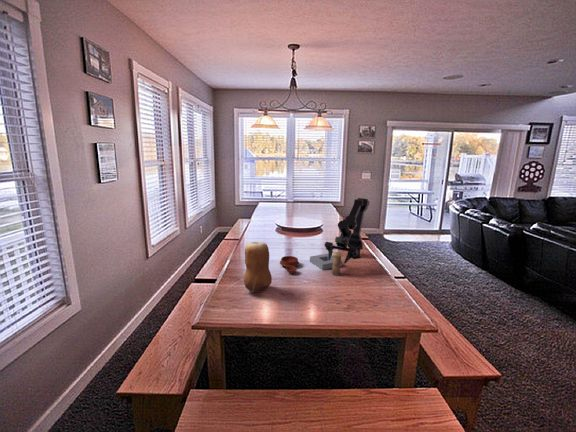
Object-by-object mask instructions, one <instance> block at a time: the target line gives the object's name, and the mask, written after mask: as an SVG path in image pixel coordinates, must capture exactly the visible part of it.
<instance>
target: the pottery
mask: <svg viewBox="0 0 576 432" xmlns="http://www.w3.org/2000/svg"><path fill="white" fill-rule="evenodd" d="M279 264H280V265H281V266H284V267H285V270H286V271H287V273H288V275H294V274H295V273H296V272H297V270H298V268H297V266H299V265H300V262H299V258H298V257H296V256H293V255H285V256H282V257H281V259H280V261H279ZM293 273H294V274H293Z"/></svg>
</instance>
